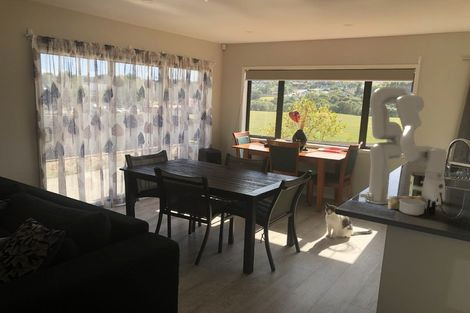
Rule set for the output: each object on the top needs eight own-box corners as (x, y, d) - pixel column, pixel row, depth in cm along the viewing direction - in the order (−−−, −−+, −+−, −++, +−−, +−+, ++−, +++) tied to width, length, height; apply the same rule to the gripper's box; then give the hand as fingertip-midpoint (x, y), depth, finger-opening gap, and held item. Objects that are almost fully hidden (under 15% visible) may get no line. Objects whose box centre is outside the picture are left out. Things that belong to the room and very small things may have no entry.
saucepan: (447, 219, 168) (448, 208, 167) (399, 214, 174) (400, 203, 173) (441, 213, 179) (442, 201, 178) (396, 208, 184) (397, 197, 184)
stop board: (389, 209, 182) (390, 197, 182) (387, 207, 184) (388, 196, 184) (430, 208, 185) (432, 197, 184) (428, 207, 187) (429, 196, 186)
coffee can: (433, 200, 201) (436, 175, 199) (417, 201, 198) (420, 176, 196) (419, 196, 211) (422, 171, 209) (404, 196, 208) (406, 172, 206)
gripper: (453, 178, 159) (449, 219, 162) (431, 172, 174) (427, 210, 177) (437, 178, 158) (433, 220, 161) (416, 172, 173) (412, 210, 176)
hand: (430, 214), depth 169 cm, fingers closed
